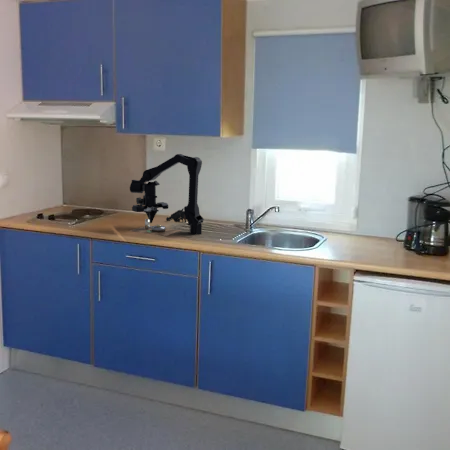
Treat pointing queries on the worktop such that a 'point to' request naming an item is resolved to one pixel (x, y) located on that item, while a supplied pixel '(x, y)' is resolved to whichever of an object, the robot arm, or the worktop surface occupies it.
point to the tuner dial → (154, 228)
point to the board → (165, 233)
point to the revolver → (177, 216)
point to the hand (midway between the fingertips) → (150, 223)
